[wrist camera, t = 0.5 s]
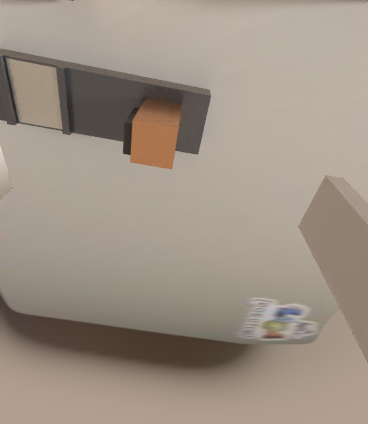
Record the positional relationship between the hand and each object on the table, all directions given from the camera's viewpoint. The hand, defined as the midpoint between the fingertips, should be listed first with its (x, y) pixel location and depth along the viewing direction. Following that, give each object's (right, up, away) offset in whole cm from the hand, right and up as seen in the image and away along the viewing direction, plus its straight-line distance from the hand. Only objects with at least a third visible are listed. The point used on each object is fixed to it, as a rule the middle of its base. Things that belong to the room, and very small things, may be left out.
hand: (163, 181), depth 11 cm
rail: (-8, +12, +21) cm, 26 cm away
